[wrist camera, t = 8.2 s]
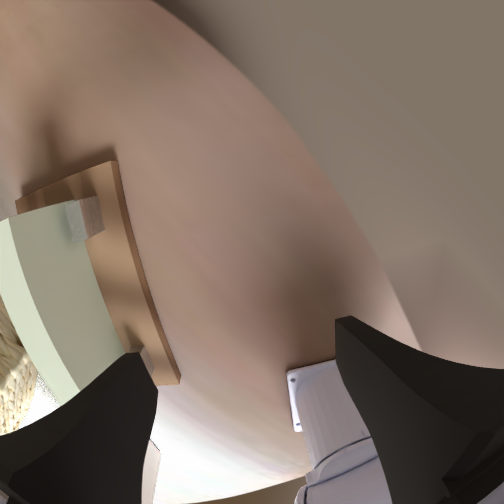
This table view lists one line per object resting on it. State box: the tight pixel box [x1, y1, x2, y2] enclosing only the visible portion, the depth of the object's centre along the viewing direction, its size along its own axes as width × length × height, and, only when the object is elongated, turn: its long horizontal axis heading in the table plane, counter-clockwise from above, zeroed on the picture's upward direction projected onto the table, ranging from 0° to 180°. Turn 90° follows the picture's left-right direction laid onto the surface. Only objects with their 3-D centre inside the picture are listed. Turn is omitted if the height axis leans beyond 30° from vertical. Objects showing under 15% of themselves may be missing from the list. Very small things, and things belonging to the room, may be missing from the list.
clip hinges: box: [64, 196, 155, 378], centre depth 17 cm, size 14×7×2 cm, turn 10°
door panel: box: [0, 200, 126, 406], centre depth 14 cm, size 14×3×7 cm, turn 10°
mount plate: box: [15, 161, 181, 386], centre depth 18 cm, size 18×10×1 cm, turn 10°
